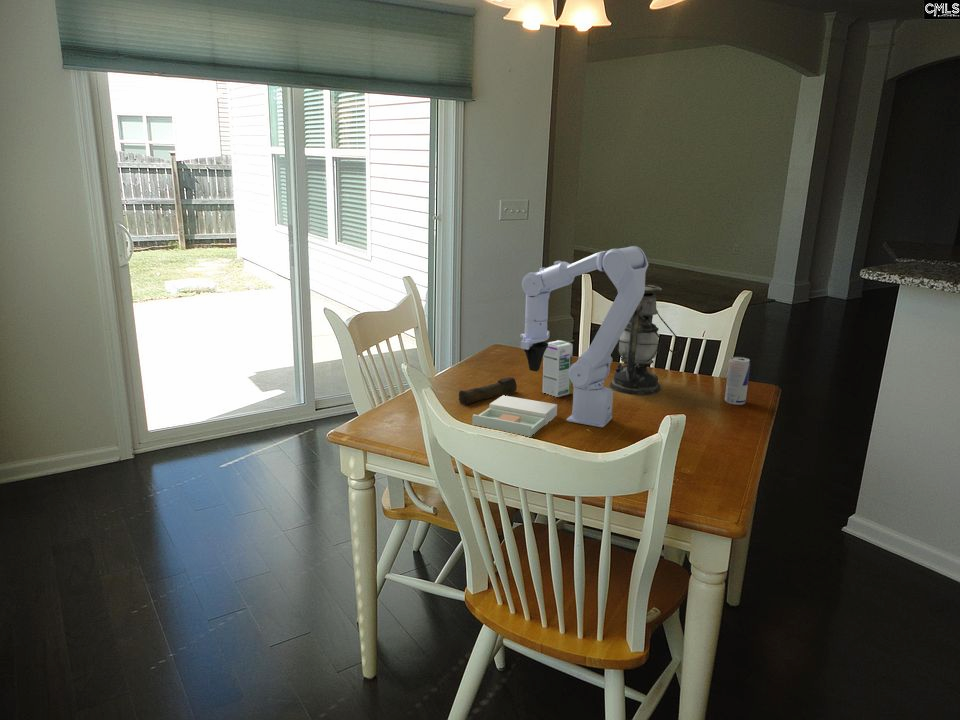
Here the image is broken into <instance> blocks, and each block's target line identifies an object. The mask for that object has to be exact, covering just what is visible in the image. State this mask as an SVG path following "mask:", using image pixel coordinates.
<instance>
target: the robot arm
mask: <svg viewBox="0 0 960 720" xmlns="http://www.w3.org/2000/svg"><path fill="white" fill-rule="evenodd" d="M649 266H650V265H649V261H648V259H647V256H646V254H645V252H644V250H643V249H642V248H640V247H639V246H636V245H631V246H628V247H622V248H611V249H608V250H604V251H599V252H596V253H593V254H591V255H589V256H585V257H584V258H582V259H580V260H577V261H575V262H573V263H569V262H567V261H561V260H556V261H553V265H551V266H548V267H544V266H543V267H540V268H539V270H538V271H535V272H528V273H526V274H525V275H524V276H523V278H522V279H521V289H522V291H523V293H524V294H525V307H524V308H525V312H524V313H525V314H524V315H525V316H524V333H521V334H520V336H519V337H520V338H521V339H522V340H521V341H520V349H521V350H523V351H524V352H525V355H526V359H527V364H528V368H529V372H538V371H539V370H540V369H541V368H540V367H541V364H542V362H543V355H544V352H545V350H546V348H547V347H548V343H549V342H545V341H547V340H548V339H550V330H548V318H549V299H550V296H551V292H553V291H555V290H558V289H561V288H564V287H566V286H569V285H571V284H573V282H574V280H575V277H577V276H581V275H584V274H587V273H589V272H593V271H596V270H598V271H599V272H605V274H606V275H607V277H608V279H609V280H610V281H611V283H612V285H613V286H614V287H615V289H616V290H617V291H616V292H617V295H616V296H615V299H614V301H613V302H612V304H611V306H610V308H609V310H608V312H607V313H606V315H605V316H604V319H603V321H602V322H601V325H599V326H600V327H599V329H598V330H597V332H596V334H595V336H594V338H593V339H592V342H590V343H591V344H590V346H589V347H588V348H587V349H586V350H585V351H584V352H583V353H582V354H580V356H579V357H578V359H577V361H575V362H573V363H572V365H571V367H570V369H569V378H570V380H571V384H572V387H573V389H572V390H573V394H572V408H571V409H572V412H571V415H570V416H568V417H567V418H566V420H565V421H567V422H568V423H569V422H571V423H575V424H582V425H587V426H590V427H591V426H592V427H597V428H605V426H606V425H607V424H608V423H609V422H610V421H611V420H612V419H613V416H612V414H613V402H614V401H613V400H614V392H613V391H614V390H613V389H612V388H610V387H609V388H608V387H606V386H604V384H605V380H606V379H607V377H608V376H609V375H610V370H611V363H612V362H613V361H614V360H613V357H612V356H611V355H612V353H613V351H614V349H615V348H616V347H617V342H618V343H619V339H620V337H621V335H622V333H623V332H624V330H625V328H626V326H627V324H628V323H629V321H630V319H631V317H632V315H633V314H634V312H635V310H636V308H637V306H638V305H639V303H640V301H641V299H642V297H643V295H644V292H645V284H646V272H647V269H648V267H649Z"/></svg>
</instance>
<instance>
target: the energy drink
mask: <svg viewBox="0 0 960 720" xmlns="http://www.w3.org/2000/svg"><path fill="white" fill-rule="evenodd" d="M750 369H751V360H750V359H749V358H747V357H744V356H743V357H742V356H732V357H730V359H729V360H728V369H727V376H726V385H725V392H724V401H725V402H726V403H727V404H729V405H733V406H734V405H735V406H742V405H745V404H746V401H747V394H748V393H747V392H748V386H749V385H748V384H749V377H750V371H751V370H750Z"/></svg>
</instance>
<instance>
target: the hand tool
mask: <svg viewBox="0 0 960 720" xmlns="http://www.w3.org/2000/svg"><path fill="white" fill-rule="evenodd" d="M516 391H517V381H516V378H514V377H510V376H509V377H504V378H500V379H498V380H497V382H495V383H492V384H488V385H484V386H481V387H475V388H472V389H466V390H459V392H458V401H459V404H462V405H465V406H467V405H468V404H473V403H474V402H478V401H480V400H484V399H485V400H486V399H488V398H489V399H490V398H493V397H497V396H500V395H502V396H503V395H506V396H509V395H511V394H510V393H512V394H514V393H515V392H516ZM508 394H509V395H508Z"/></svg>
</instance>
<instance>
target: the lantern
mask: <svg viewBox="0 0 960 720" xmlns="http://www.w3.org/2000/svg"><path fill="white" fill-rule="evenodd" d="M662 290H663V289H662V288H661V287H660V286H658V284H651V283H645V292H644V295H643V297H642V299H641V301H640V303H639V305H638V306H637V308H636V310H635V312H634V314H633V315H632V317H631V319H630V321H629V323H628V324H627V326H626V328H625V330H624V332H623V333H622V335H621V337H620V339H619V341H618V342H617V344H616V347H617V352H618V356H619V358H620V361H621V362H623V363H625V364H626V365H622V363H619V364H618V365H617V368H615V369H614V371H615V372H614V374H613V379H612V380H611V381H610V383H609V389H612V391H616V392H618V393H622V394H626V395H636V396H650V395H655V394H659V393H660V392H661V391H662V388H661V384H660V382H659V376H657V375H656V374H655V373H654V372H651V370H649V369H648V368H647V367H648V366H650V365H652V364H653V363H654V360H653V359H655V358H656V356H657V354H658V353H659V352H660V348H661V344H660V341H661V342H662V344H663V345H664V346H665V347H666V348H667V349H668V351H669V352H671V353H672V354H676V353H681V352H682V351H681V348H682V342H681V340H680V338H679V337H678V336H677V334H675V332H674V331H673V330H672V329H671V327H670V326H669V325H668V324H667V323H666V321H664V319H663V318H662V317H661V315H660V314H659V310H658V309H657V296H656V294H655V293H657V292H660V291H662ZM655 315H657V316H658V317H659V319H660V320H661V321H662V322H663V324H664V325H665V326H666V327H667V329H668V330H669V331H670V332H671V333H672V335H674V337H675V338H676V340H677V341H678V343H679V349H678V350H676V351H673V350H672V349H671V348H670V347H669V346H668V345H667V344H666V343H665V341H664V340H663V338H661V336H660V335H659V333H658V332H659V327H657V325H656V324H654V323H653V318H654V317H653V316H655ZM659 340H660V341H659Z"/></svg>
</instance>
